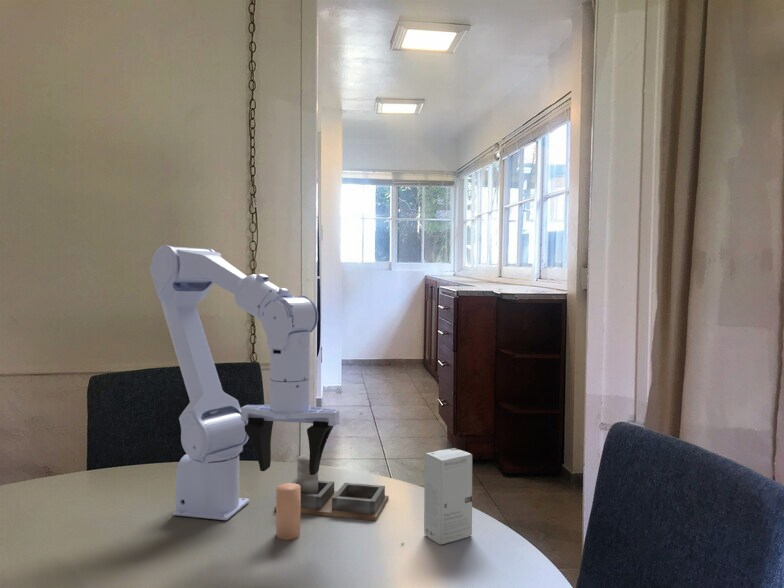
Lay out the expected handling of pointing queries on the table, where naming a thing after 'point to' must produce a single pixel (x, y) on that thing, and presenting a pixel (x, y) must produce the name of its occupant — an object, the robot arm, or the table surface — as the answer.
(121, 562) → the table surface
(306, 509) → the tube rack
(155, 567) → the table surface
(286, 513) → the terracotta tube
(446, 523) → the skincare box
